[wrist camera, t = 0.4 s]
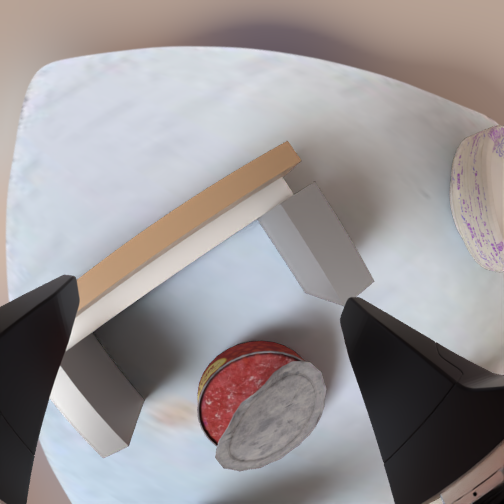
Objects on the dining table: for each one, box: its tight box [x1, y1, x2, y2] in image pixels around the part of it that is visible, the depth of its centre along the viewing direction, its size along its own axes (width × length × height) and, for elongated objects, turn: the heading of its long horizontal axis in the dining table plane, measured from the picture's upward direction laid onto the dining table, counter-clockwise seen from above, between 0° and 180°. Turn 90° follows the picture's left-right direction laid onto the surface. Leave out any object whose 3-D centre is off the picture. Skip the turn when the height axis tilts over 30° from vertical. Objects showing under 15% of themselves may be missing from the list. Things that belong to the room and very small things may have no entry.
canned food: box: [197, 341, 327, 471], centre depth 20 cm, size 11×10×10 cm
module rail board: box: [50, 141, 374, 458], centre depth 19 cm, size 10×22×7 cm, turn 124°
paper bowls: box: [450, 125, 504, 272], centre depth 24 cm, size 15×15×8 cm
